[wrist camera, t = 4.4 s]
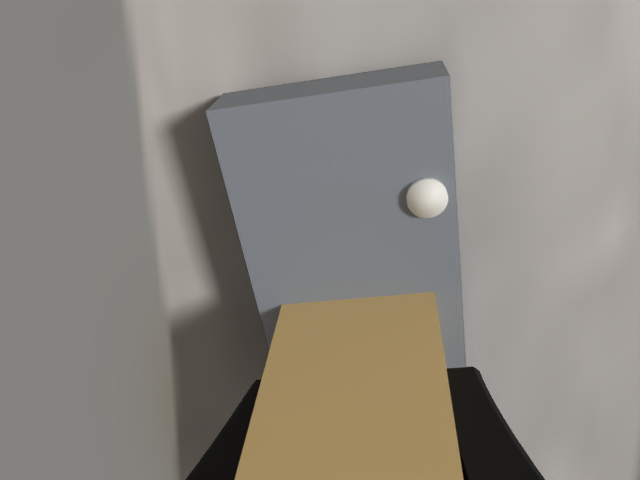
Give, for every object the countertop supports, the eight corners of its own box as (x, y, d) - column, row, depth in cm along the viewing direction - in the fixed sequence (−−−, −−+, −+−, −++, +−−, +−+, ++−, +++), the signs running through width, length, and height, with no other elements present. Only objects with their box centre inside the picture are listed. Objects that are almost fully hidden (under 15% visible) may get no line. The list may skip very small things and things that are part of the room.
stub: (442, 60, 10) (520, 217, 4) (469, 507, 15) (519, 824, 10) (223, 93, 10) (48, 266, 5) (326, 510, 16) (298, 809, 10)
